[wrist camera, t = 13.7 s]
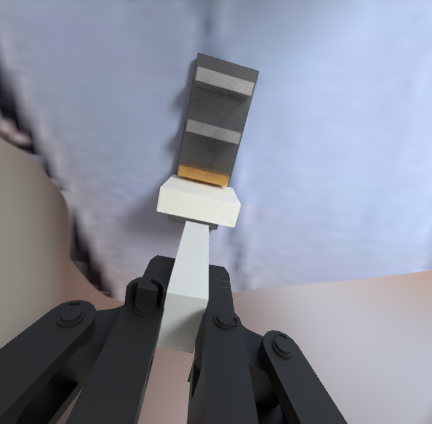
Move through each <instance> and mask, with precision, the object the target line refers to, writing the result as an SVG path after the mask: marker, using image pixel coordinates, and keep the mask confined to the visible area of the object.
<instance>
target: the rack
mask: <svg viewBox="0 0 432 424" xmlns="http://www.w3.org/2000/svg"><path fill="white" fill-rule="evenodd" d="M258 74H259V71H257V70H253V69H250V68H247V67H244V66H240V65H237V64H234V63H230V62H227V61H224V60H221V59H217V58H214V57H211V56H207V55H204V54H201V53H198V56H197V61H196V67H195V73H194V78H193V84H192V89H191V95H190V100H189V106H188V111H187V117H186V122H185V128H184V133H183V139H182V144H181V150H180V155H179V161H178V166H177V172H176V175H178V176H182V177H187V178H191V179H195V180H200V181H204V182H208V183H212V184H217V185H221V186H225V187H228V186H229V182H230V178H231V175H232V171H233V167H234V163H235V160H236V156H237V152H238V148H239V145H240V141H241V137H242V133H243V130H244V126H245V122H246V118H247V115H248V111H249V107H250V104H251V100H252V96H253V92H254V89H255V85H256V81H257V77H258ZM168 220H172V221H177V222H181V223H186V221H189V222H194V223H198V224H203V225H208V226H209V228H210V229H215V230H217V227H218V224H215V223H210V222H205V221H200V220H196V219H191V218H186V217H182V216H177V215H172V214H169V216H168Z"/></svg>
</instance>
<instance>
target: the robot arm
mask: <svg viewBox="0 0 432 424" xmlns="http://www.w3.org/2000/svg"><path fill="white" fill-rule="evenodd" d="M156 348H160V349H168V350H174V351H182V352H189V353H193V352H194V348H195V355H194V361H193V364H192V367H191V371H190V374H189V378H188V382H190V393H189V405H188V417H187V424H347V422H346V421H345V419H344V417H343V416H342V414H341V413H340V411H339V410H338V408H337V406H336V405H335V403H334V402H333V400H332V399H331V397H330V396H329V394H328V392H327V391H326V389H325V388H324V386H323V385H322V383H321V382H320V380H319V378H318V377H317V375H316V374H315V372H314V370H313V369H312V367H311V366H310V364H309V363H308V361H307V359H306V358H305V356H304V355H303V353H302V352H301V350H300V349H299V347H298V346H297V344H296V343H295V342H294V341H293V339H291V338H290V337H289V336H287V335H286V334H284V333H282V332H280V331H274V330H272V331H268V332H267V333H266V334H265V335H264V337H263V336H261V335H259V334H256V333H254V332H252V331H250V330H248V329H246V328H245V327H244V326H243V325H242V324H241V321H240V319H239V317H238V316H237V315H236V313H235V312H234V307H233V299H232V292H231V285H230V278H229V273H228V272H227V271H226V269H225V268H224V267H220V266H215V265H210V264H209V226H208V225H203V224H198V223H194V222H189V221H186V223H185V227H184V231H183V234H182V238H181V242H180V245H179V249H178V253H177V256H176V259H175V258H169V257H164V256H159V255H157V256H155V257H154V258H153V259H151V260H150V262H149V264H148V266H147V268H146V270H145V273H144V275H143V277H139V278H136V279H134V280H132V281H131V282H130V283H129V284H128V285H127V288H126V296H125V304H124V305H123V306H121V307H118V308H115V309H109V310H100V311H96V309H95V307H94V305H92V304H91V303H89V302H87V301H82V300H76V301H69V302H66V303H63V304H60V305H59V306H57V307H55V308H53V309H52V310H51V311H49V312H48V313H47V314H45V315H44V316H43V317H41V318H40V319H39V320H38V321H36V322H35V323H34V324H32V325H31V326H30V327H28V328H27V329H26V330H24V331H23V332H22V333H21V334H19V335H18V336H17V337H15V338H14V339H13V340H11V341H10V342H9V343H7V344H6V345H5V346H4V347H2V348H1V349H0V424H56V423H57V422H58V420H59V419H60V418H61V416H62V415H63V413H64V412H65V411H66V409H67V408H68V407H69V405H70V404H71V403H72V401H73V400H74V399H75V397H76V396H77V395H78V393H79V392H80V390H81V389H82V388H83V390H82V391H81V393H80V395H79V397H78V399H77V401H76V403H75V405H74V407H73V409H72V411H71V413H70V415H69V417H68V419H67V421H66V423H65V424H137V423H138V419H139V415H140V411H141V407H142V403H143V399H144V395H145V391H146V387H147V383H148V379H149V374H150V371H151V367H152V363H153V358H154V353H155V349H156Z"/></svg>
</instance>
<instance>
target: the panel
mask: <svg viewBox="0 0 432 424" xmlns="http://www.w3.org/2000/svg"><path fill="white" fill-rule="evenodd" d="M240 207H241V204H240V202H239V200H238V198H237V196H236V194H235V192H234V190H233V188H230V187H225V186H221V185H217V184H212V183H208V182H204V181H200V180H195V179H191V178H187V177H182V176H178V175H174V174H173V175H172V176H171V177H170V178H169V179H168V180H167V181H166V182H165V183H164V184H163V185H162V186H161V187H160V193H159V199H158V206H157V211H158V212H163V213H167V214H172V215H177V216H182V217H186V218H191V219H196V220H200V221H205V222H210V223H215V224H219V225H224V226H229V227H235V224H236V220H237V217H238V214H239V210H240Z"/></svg>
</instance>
